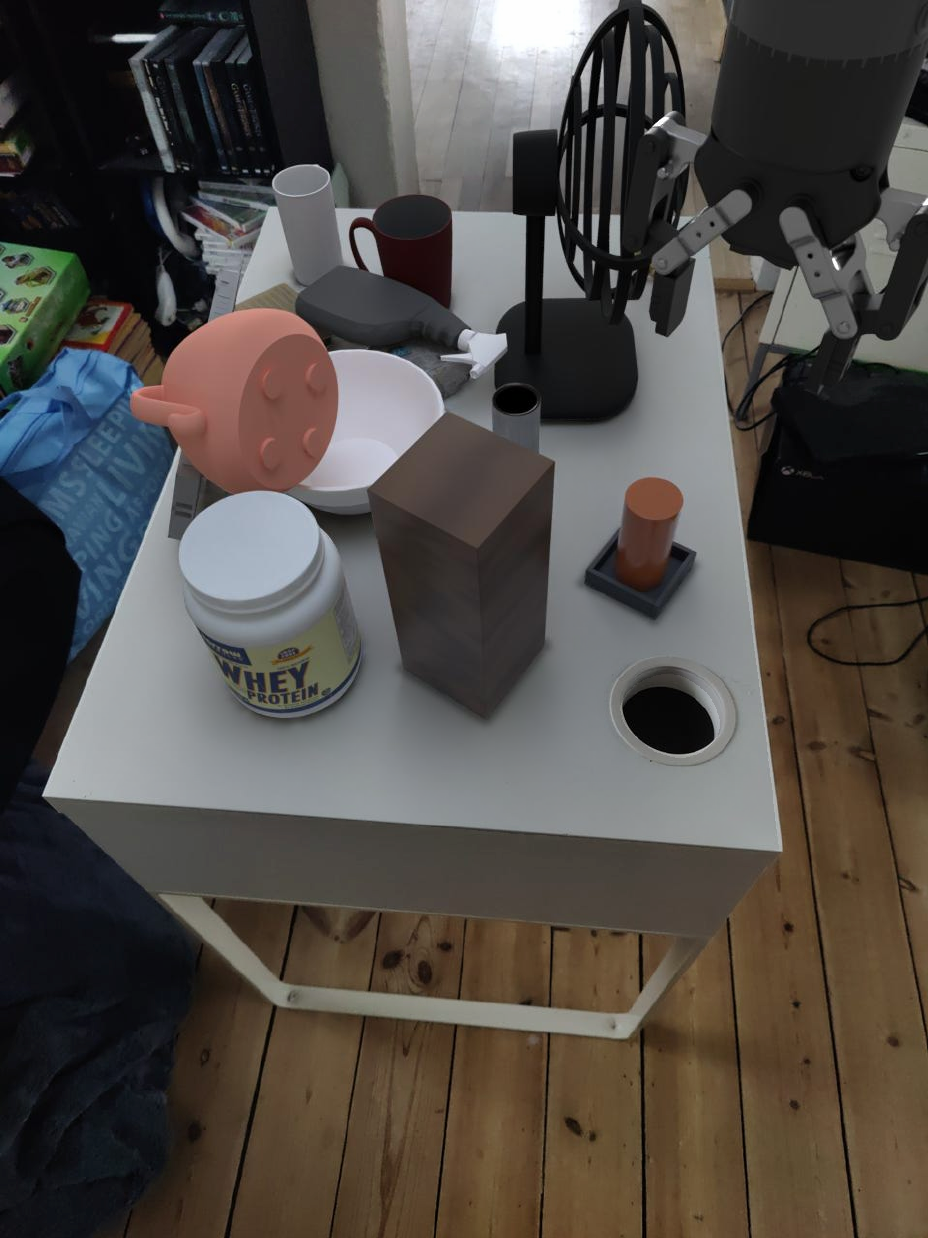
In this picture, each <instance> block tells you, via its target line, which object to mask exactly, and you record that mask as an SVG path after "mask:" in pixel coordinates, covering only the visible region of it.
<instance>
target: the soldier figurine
mask: <svg viewBox="0 0 928 1238" xmlns="http://www.w3.org/2000/svg"><path fill="white" fill-rule="evenodd" d="M639 254H641V251H639V252H637V253H635V255H639ZM636 271H637V270H635V271H632V275H633V274H634V273H635V272H636ZM654 274H655V270H654V268H653V266H652V264H650V268H649V273H648V277H651V278H652V280H654Z"/></svg>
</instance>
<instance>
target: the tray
mask: <svg viewBox="0 0 928 1238" xmlns="http://www.w3.org/2000/svg"><path fill="white" fill-rule="evenodd" d="M619 530H620V526H619V527H618V528H617V529H616V530H615V532H614V533H613V535H612V536H611V537H610V539H608V541H607V542H606V544H605V545H604V546H603V547H602V549H601V550H600V551H599V552H598V553H597V555H596V556H595V557H594V559H593V560H592V562H590V564H589V565H588V566H587V568H586V569H585V574H584V584H586V585H588V586H590V587H592V588H593V589H596V590H597V591H599V592H601V593H603V594H605V595H607V596H609V597H611V598H613V599H615V600H617V601H618V602H620V603H622V604H624V605H627V606H628V607H630V608H632V609H634V610H636V611H638V612H640V613H642V614H644V615H645V616H648V617H649V618H651V619H653V620H656V618H657V617H658V616H659V615H660V613H661V611H662V610H663V609H664V608H665V607H666V604H667V603H668V602H669V600H670V599H671V598H672V596H673V595H674V594H675V592H676V590H677V589H678V588H679V586H680V585H681V583H682V582H683V580H684V579H685V578H686V576H687V575H688V573H689V572H690V571H691V569H692V568H693V567H694V564H695V561H696V560H695V559H696V558H697V554H698V553H697V551H695V550H693V549H691V548H689V547H687V546H685V545H684V544H681V543H679V542H677V541H675V540H674V542H673V546H672V551H671V555H670V559H669V563H668V567H667V571H666V575H665V578H664V580H663V582H662V583H661V584H660V585H659V586H658V587H656V588H654V589H652V590H648V591H636V590H634V589H632V588H630V587H628V586H626V585H624V584H622V583H620V582H619V581H618V580H617V579H616V577H615V574H614V561H615V555H616V549H617V543H618V536H619Z"/></svg>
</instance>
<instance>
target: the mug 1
mask: <svg viewBox="0 0 928 1238" xmlns="http://www.w3.org/2000/svg"><path fill="white" fill-rule="evenodd" d="M330 175H331V174H330V173H329V171H328V170H327V169H325V168H323V167H321V166H320V165H319V164H298V165H293V166H290V167H287V168H285V169H283V170H281V171H279V172H278V173H276V174H275V176H274V177H273V179H272V181H271V186H272V189H273V194H274V199H275V203H276V208H277V211H278V215H279V218H280V222H281V226H282V231H283V234H284V237H285V243H286V244H287V250H288V253H289V257H290V260H291V263H292V267H293V271H294V275H295V278H296V280H297V281H298V282H299V283H300V284H302V285H303V286H305V287H308V286H309V285H311V284H312V283H314V282H315V281H316V280H318V279H319V278H321V277H322V276H324V275H325V274H326V273H328V272H329V271H331V270H332V269H334V268H335V267H337V266H340V265H342V266H345V264H344V258H343V251H342V243H341V238H340V232H339V226H338V225H339V224H338V219H337V212H336V205H335V199H334V193H333V187H332V182H331V176H330Z"/></svg>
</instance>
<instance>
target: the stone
mask: <svg viewBox="0 0 928 1238" xmlns="http://www.w3.org/2000/svg"><path fill="white" fill-rule="evenodd" d="M366 350H372V351H380V352H384V353H388V354H392V355H396V356H398V357H400V358H403V359H405V360H408V361H410V362H411V363H413V364H414V365H416V366H418V367H419V368H421V369H422V370H423V371H424V372H425V373H426V374H427V375H428V376H429V377H430V378H431V379H432V380H433V381H434V383H435V384H436V386H437V388H438V390H439V391H440V393H441V396H442V400H444V399H447V398H450V397H451V396H453V395H454V394H455V393H456V392H458V391H459V389H460V388H461V387H462V386H463V385H464V384H465V383H467V382H469V381H470V379H471V378H472V377H471V376H470V371H471V370H472V368H473V367H472V365H471V364H467V363H463V362H452V361H442V360H441V356H444V355H454V354H467V352H466V351H463V350H459V351H456V352H452V351H451V350H450V349H449V348H448V347H447V346H446V345H443V344H437V343H436V342H435V341H434V340H426V339H425V338H423V337H422V336H415V337H412V338H409V339H407V340H404V341H401V342H398V343H394V344H390V345H384V346H370V347H367V349H366Z"/></svg>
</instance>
